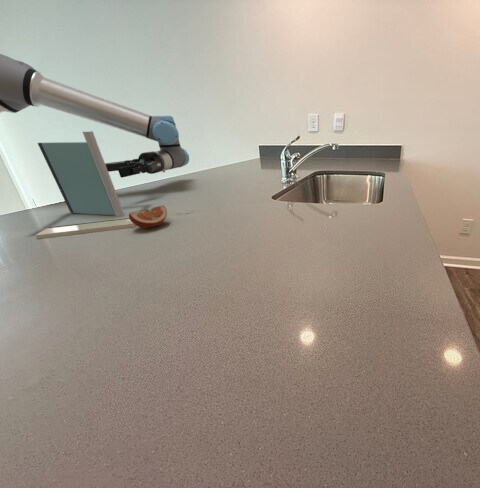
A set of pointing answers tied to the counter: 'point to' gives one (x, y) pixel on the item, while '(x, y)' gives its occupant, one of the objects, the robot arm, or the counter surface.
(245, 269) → the counter surface
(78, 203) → the shower door
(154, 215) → the fruit slice
